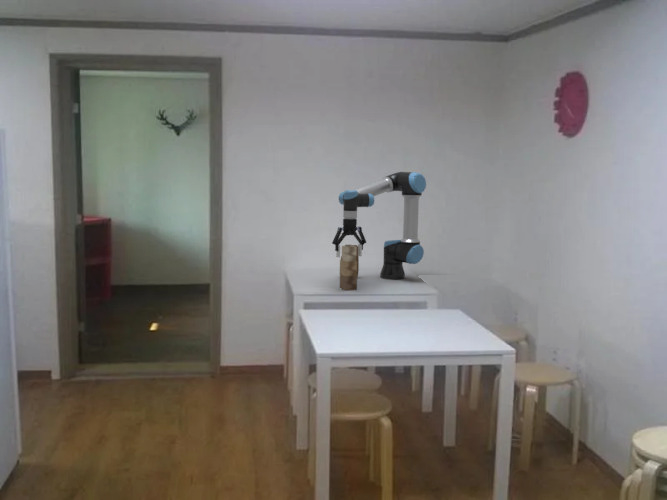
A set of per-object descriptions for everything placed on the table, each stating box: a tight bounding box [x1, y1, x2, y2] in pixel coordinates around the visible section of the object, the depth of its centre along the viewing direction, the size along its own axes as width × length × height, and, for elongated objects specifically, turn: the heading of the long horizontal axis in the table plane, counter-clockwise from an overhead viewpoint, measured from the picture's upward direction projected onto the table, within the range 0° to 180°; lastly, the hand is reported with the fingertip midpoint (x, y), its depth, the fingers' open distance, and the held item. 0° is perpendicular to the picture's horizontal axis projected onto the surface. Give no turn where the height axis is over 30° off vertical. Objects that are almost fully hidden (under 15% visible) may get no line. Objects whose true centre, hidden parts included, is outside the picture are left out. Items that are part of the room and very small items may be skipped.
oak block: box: [339, 259, 357, 276], centre depth 402 cm, size 7×7×8 cm
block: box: [340, 244, 360, 278], centre depth 438 cm, size 11×8×20 cm
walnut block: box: [339, 274, 358, 291], centre depth 403 cm, size 7×7×8 cm
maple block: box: [341, 244, 357, 262], centre depth 401 cm, size 6×6×8 cm
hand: (349, 256), depth 401 cm, fingers open, 13 cm apart
